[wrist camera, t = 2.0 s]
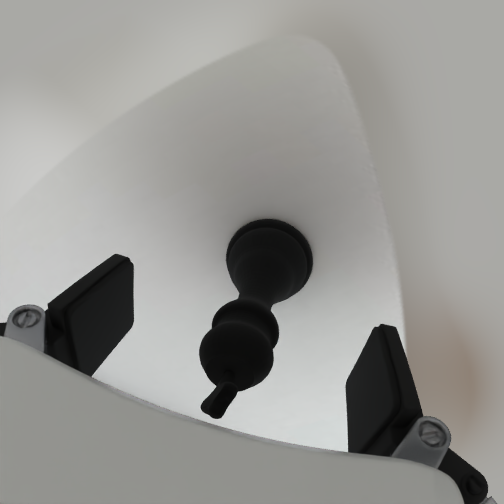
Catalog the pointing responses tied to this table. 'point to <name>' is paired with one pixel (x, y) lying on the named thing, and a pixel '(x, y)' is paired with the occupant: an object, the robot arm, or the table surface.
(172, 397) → the table surface
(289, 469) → the robot arm
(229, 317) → the chess piece
